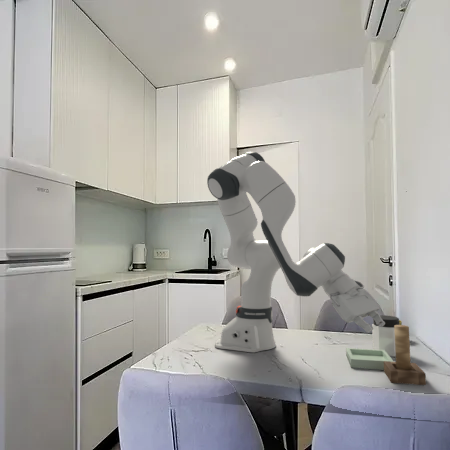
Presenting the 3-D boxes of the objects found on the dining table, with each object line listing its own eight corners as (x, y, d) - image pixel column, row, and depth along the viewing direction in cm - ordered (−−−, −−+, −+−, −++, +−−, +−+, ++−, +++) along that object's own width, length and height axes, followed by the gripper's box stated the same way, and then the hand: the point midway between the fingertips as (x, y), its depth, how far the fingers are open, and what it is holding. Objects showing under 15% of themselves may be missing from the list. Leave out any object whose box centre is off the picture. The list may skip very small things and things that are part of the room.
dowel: (398, 380, 93) (396, 327, 94) (395, 375, 97) (392, 324, 98) (413, 381, 93) (410, 327, 94) (409, 376, 96) (406, 325, 97)
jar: (391, 358, 112) (389, 320, 113) (368, 352, 119) (367, 316, 120) (406, 353, 117) (404, 317, 118) (383, 348, 124) (382, 314, 125)
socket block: (391, 382, 92) (390, 371, 92) (384, 371, 100) (383, 361, 100) (426, 385, 90) (425, 373, 90) (415, 373, 98) (415, 363, 98)
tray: (351, 367, 103) (350, 359, 104) (346, 355, 115) (346, 347, 115) (394, 370, 101) (394, 361, 101) (384, 357, 112) (384, 350, 113)
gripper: (334, 287, 97) (370, 327, 90) (363, 282, 112) (396, 316, 105) (320, 301, 100) (354, 341, 93) (350, 294, 115) (381, 329, 107)
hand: (377, 328), depth 99 cm, fingers open, 8 cm apart
